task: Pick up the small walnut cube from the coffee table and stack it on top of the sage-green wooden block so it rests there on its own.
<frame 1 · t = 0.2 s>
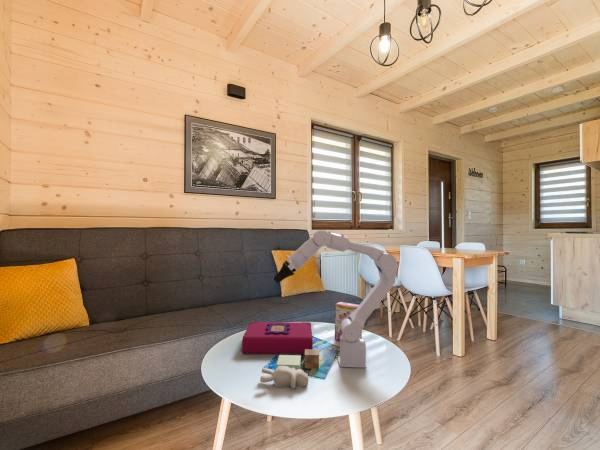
hand: (276, 279, 116), 31 cm above the table, tool tilted 45°, fingers open, 7 cm apart
bunny figurine: (284, 385, 99), on the table
book: (278, 346, 133), on the table
walnut cube: (311, 365, 113), on the table
sage block: (289, 369, 110), on the table
candy bar box: (348, 341, 137), on the table
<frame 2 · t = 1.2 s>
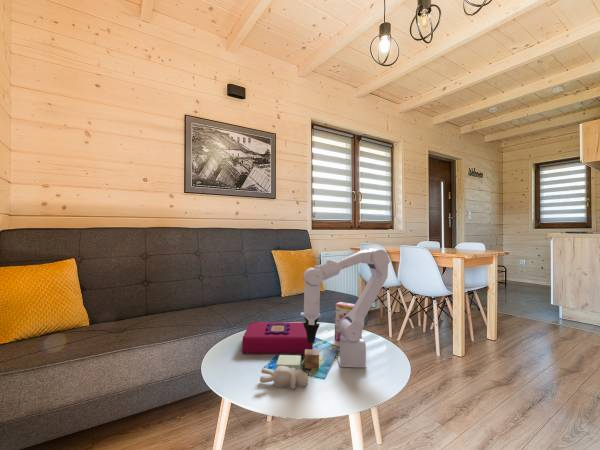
hand: (311, 338, 113), 10 cm above the table, tool pointing down, fingers open, 7 cm apart
nothing on the table moved.
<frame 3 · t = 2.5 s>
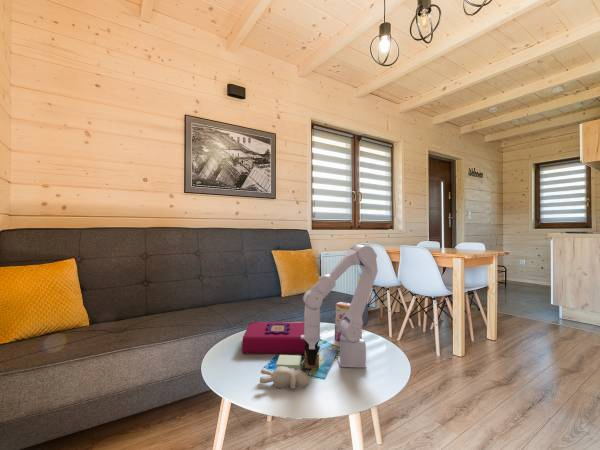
hand: (311, 361, 113), 1 cm above the table, tool pointing down, fingers closed on walnut cube, 5 cm apart
walnut cube: (311, 365, 113), on the table, touching gripper
everything else where it was.
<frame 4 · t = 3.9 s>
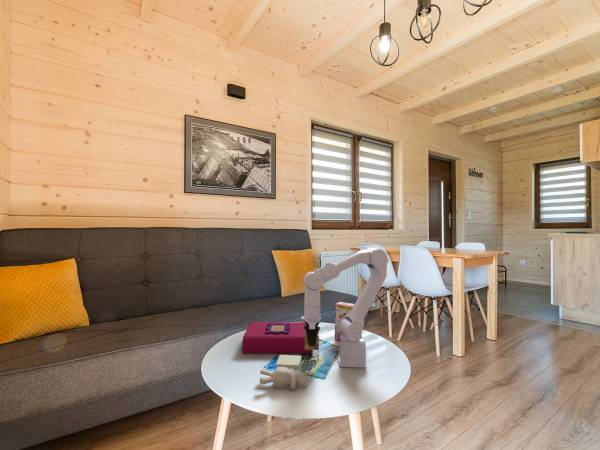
hand: (312, 342, 113), 8 cm above the table, tool pointing down, fingers closed on walnut cube, 5 cm apart
walnut cube: (311, 347, 113), point 7 cm above the table, touching gripper
everything else where it was.
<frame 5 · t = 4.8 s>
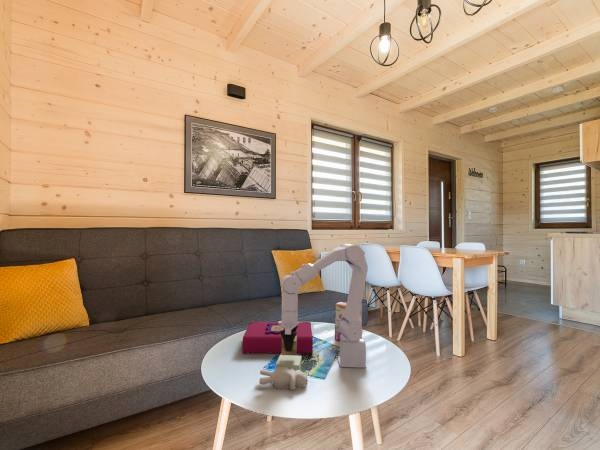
hand: (289, 348, 110), 7 cm above the table, tool pointing down, fingers closed on walnut cube, 5 cm apart
walnut cube: (289, 352, 110), point 6 cm above the table, touching gripper
everything else where it was.
when the fingers open (6 cm above the table, at t = 5.5 s): walnut cube drops 2 cm, point 3 cm above the table.
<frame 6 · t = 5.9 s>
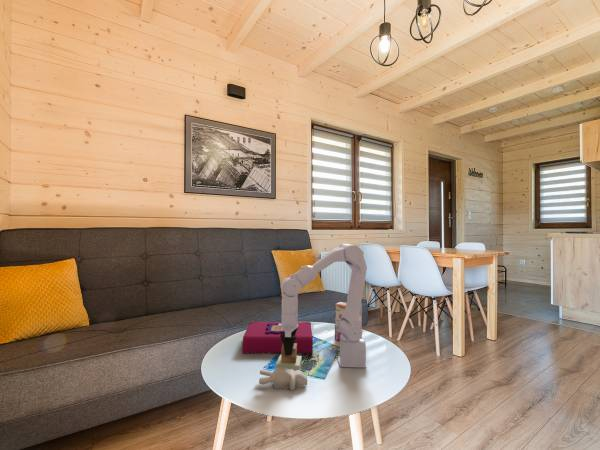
hand: (289, 350, 110), 6 cm above the table, tool pointing down, fingers open, 7 cm apart
walnut cube: (289, 359, 110), point 3 cm above the table
everything else where it was.
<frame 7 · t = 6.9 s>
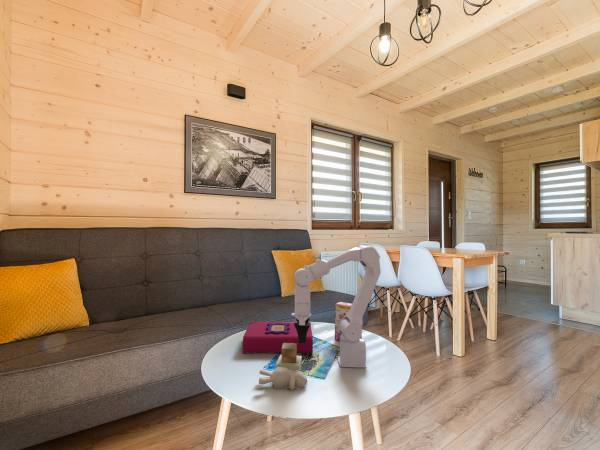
hand: (302, 338, 114), 9 cm above the table, tool pointing down, fingers open, 7 cm apart
walnut cube: (289, 359, 110), point 3 cm above the table, touching sage block
sage block: (289, 369, 110), on the table, touching walnut cube
everything else where it was.
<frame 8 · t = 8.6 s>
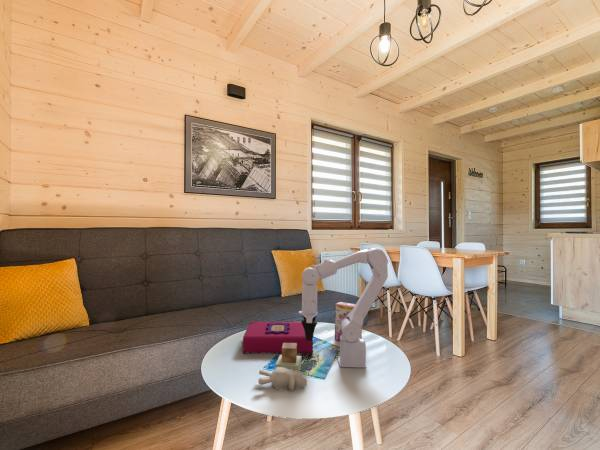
hand: (309, 336, 116), 9 cm above the table, tool pointing down, fingers open, 7 cm apart
walnut cube: (289, 359, 111), point 3 cm above the table
sage block: (288, 369, 110), on the table
at the end: walnut cube 0.3 cm off-centre on the sage block, point 3.5 cm above the sage block's base; walnut cube tilted 0°; walnut cube touching nothing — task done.
